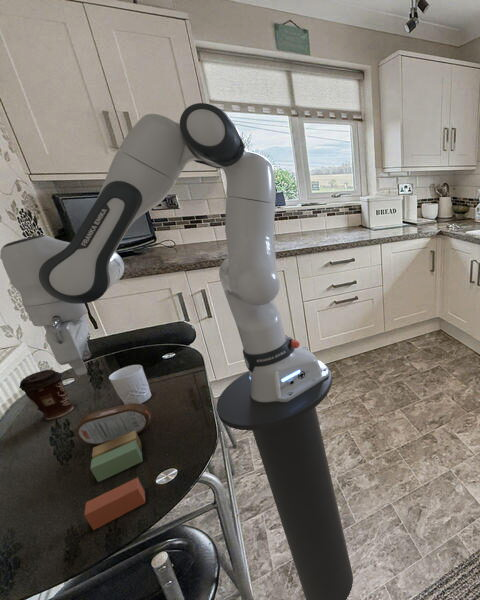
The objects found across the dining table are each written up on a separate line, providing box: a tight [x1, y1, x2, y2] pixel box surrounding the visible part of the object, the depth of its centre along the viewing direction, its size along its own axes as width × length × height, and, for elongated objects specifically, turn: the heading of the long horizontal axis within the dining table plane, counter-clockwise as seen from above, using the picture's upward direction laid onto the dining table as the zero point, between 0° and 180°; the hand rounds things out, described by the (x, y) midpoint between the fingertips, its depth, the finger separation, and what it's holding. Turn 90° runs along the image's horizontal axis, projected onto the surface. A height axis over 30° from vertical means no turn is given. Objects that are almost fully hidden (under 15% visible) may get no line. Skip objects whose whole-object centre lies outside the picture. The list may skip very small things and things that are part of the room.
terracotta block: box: [83, 477, 146, 531], centre depth 64 cm, size 8×4×4 cm, turn 129°
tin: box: [75, 403, 153, 445], centre depth 83 cm, size 15×3×8 cm, turn 113°
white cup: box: [108, 364, 152, 405], centre depth 97 cm, size 8×8×10 cm
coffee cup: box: [18, 369, 75, 420], centre depth 94 cm, size 9×8×13 cm
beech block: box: [91, 431, 143, 459], centre depth 77 cm, size 8×4×4 cm, turn 129°
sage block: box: [89, 440, 143, 483], centre depth 74 cm, size 8×4×4 cm, turn 129°
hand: (84, 365), depth 77 cm, fingers open, 8 cm apart
